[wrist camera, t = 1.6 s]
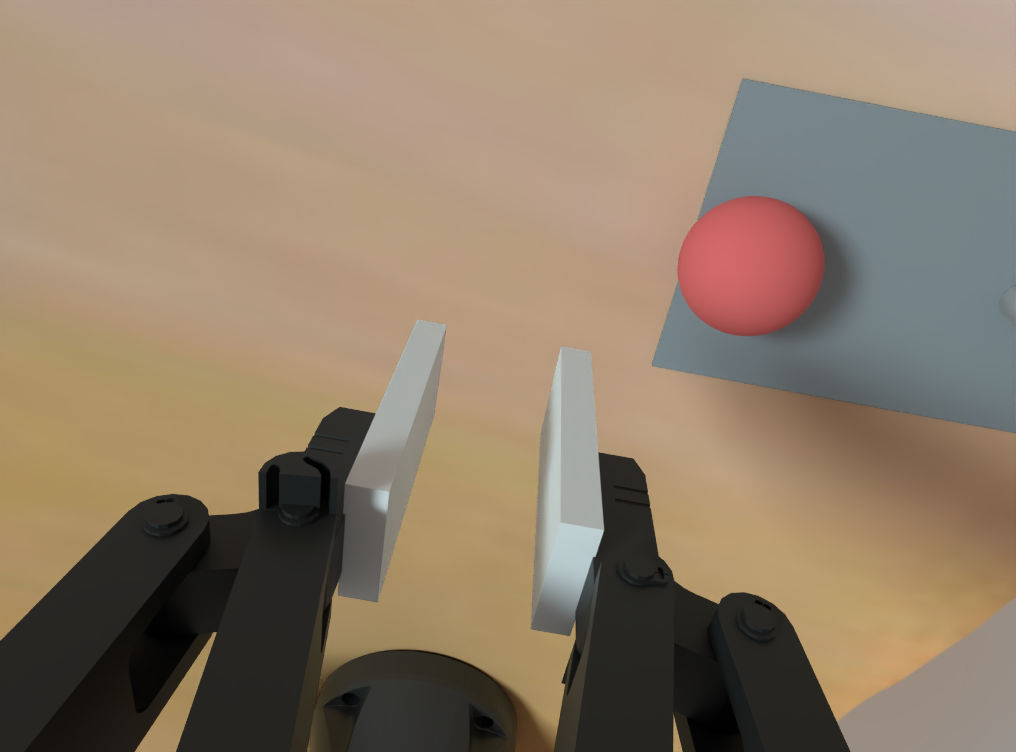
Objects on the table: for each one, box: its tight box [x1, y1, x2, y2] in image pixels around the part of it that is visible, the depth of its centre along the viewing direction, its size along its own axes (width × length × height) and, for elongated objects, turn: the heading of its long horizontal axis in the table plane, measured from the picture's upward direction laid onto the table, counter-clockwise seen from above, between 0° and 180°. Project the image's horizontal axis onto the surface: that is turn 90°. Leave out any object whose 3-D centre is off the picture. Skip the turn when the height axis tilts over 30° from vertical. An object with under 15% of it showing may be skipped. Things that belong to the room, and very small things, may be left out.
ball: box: [678, 196, 825, 336], centre depth 30 cm, size 6×6×6 cm
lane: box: [652, 79, 1016, 433], centre depth 32 cm, size 14×26×1 cm, turn 80°
